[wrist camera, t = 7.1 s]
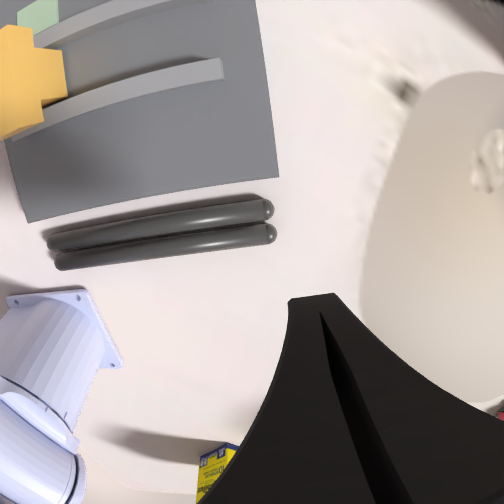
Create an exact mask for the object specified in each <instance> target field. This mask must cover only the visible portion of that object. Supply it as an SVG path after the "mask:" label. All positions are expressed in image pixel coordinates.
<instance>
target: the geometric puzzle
mask: <svg viewBox="0 0 504 504" xmlns="http://www.w3.org/2000/svg"><path fill="white" fill-rule="evenodd" d="M501 410H502V409H501ZM497 414H498V419H501V420H503V421H504V411H501V412H499V411H498V412H497Z"/></svg>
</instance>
